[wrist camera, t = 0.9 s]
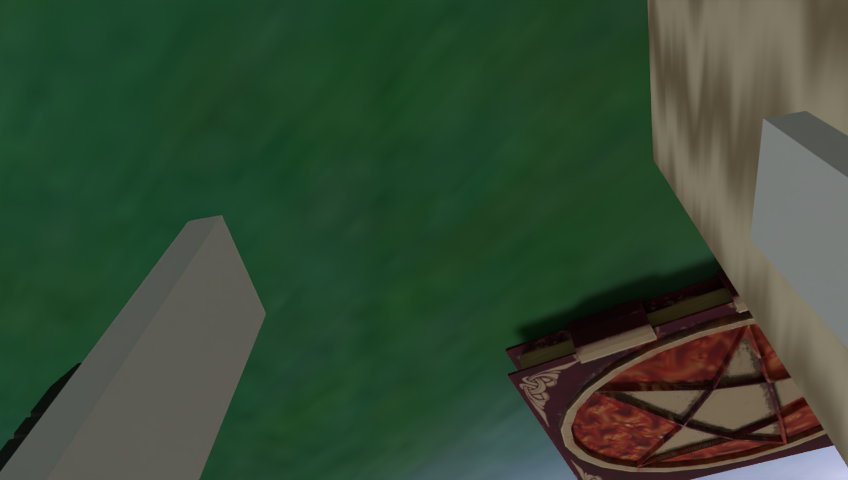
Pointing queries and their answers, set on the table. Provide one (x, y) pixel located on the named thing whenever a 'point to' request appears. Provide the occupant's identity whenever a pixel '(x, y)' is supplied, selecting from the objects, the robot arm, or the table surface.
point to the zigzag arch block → (751, 152)
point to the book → (665, 389)
